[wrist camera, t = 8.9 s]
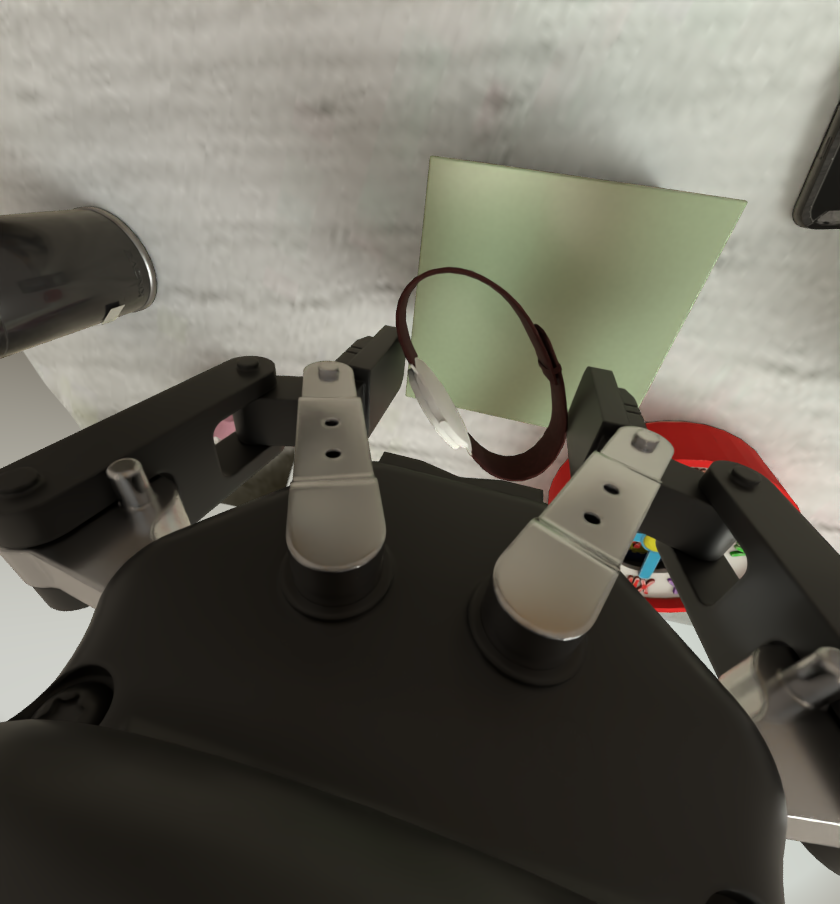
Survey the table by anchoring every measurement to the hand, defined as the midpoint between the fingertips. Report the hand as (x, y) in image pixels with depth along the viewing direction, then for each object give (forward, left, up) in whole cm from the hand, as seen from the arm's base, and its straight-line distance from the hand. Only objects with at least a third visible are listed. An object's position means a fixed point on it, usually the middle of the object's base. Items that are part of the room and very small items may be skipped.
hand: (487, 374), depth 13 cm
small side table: (+2, 0, -22) cm, 22 cm away
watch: (0, 0, -1) cm, 1 cm away
